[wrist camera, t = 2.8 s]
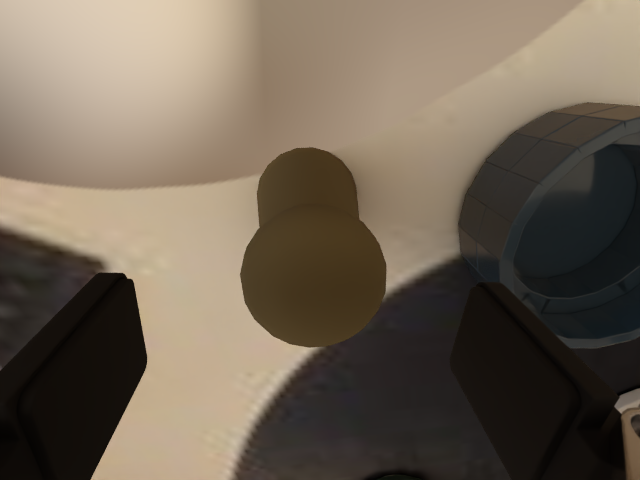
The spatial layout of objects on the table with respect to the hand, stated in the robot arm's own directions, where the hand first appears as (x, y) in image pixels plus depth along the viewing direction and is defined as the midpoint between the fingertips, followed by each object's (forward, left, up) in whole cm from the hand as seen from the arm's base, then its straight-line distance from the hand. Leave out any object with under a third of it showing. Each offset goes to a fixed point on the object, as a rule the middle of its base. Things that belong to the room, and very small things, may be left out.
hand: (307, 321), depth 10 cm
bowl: (-16, 0, -12) cm, 20 cm away
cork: (0, 0, -12) cm, 12 cm away
